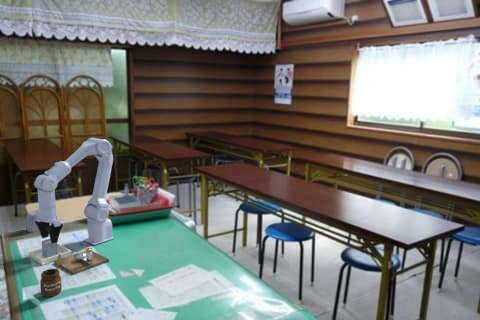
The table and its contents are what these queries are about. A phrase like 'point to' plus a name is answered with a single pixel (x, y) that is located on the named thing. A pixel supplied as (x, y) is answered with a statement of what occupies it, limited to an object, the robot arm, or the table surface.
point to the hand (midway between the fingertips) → (49, 240)
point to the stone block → (32, 221)
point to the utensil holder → (50, 281)
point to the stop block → (49, 248)
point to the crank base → (80, 263)
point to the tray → (39, 257)
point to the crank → (85, 256)
